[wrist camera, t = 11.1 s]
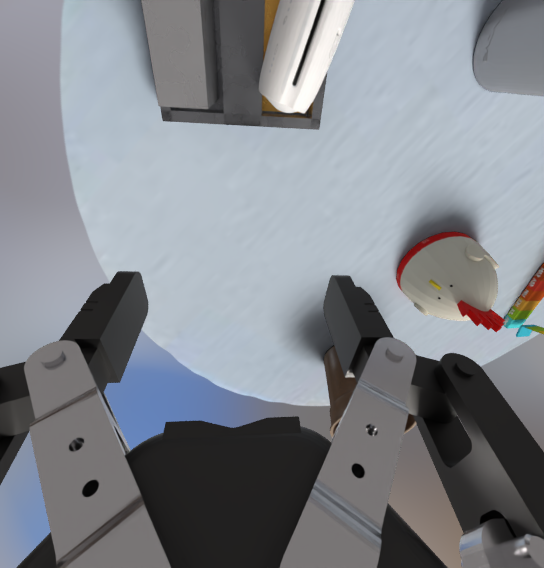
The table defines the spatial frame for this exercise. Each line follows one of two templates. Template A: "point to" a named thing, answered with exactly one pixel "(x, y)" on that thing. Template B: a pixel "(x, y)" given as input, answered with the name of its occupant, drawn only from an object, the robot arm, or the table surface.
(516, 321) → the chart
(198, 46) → the rack
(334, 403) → the plant pot
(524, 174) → the table surface
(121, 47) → the table surface
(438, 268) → the kitchen timer
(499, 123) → the table surface
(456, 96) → the table surface
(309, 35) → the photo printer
